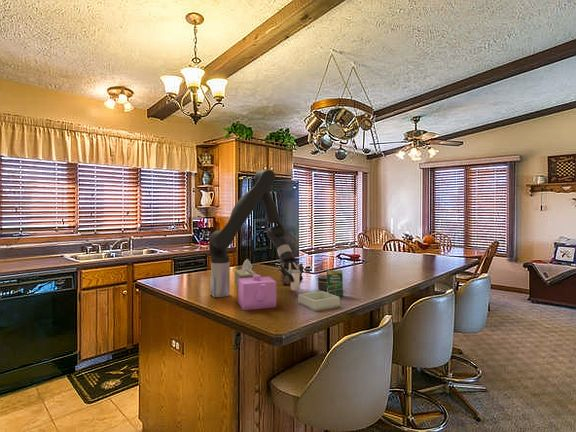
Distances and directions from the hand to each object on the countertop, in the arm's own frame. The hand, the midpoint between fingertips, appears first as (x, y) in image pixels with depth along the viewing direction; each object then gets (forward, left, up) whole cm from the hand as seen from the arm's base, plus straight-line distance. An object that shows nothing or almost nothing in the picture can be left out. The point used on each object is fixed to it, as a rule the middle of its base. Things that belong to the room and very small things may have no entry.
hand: (297, 281), depth 178 cm
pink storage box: (-25, -6, -8) cm, 27 cm away
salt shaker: (0, +2, -5) cm, 5 cm away
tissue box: (-13, +36, -8) cm, 39 cm away
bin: (-1, -20, -8) cm, 22 cm away
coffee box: (+16, -10, -8) cm, 21 cm away
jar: (+20, +2, -8) cm, 22 cm away
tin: (+12, +29, -8) cm, 32 cm away
